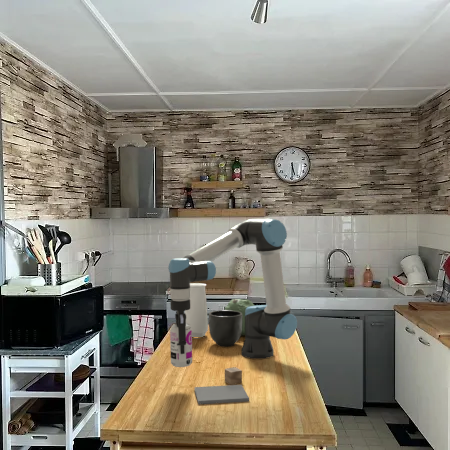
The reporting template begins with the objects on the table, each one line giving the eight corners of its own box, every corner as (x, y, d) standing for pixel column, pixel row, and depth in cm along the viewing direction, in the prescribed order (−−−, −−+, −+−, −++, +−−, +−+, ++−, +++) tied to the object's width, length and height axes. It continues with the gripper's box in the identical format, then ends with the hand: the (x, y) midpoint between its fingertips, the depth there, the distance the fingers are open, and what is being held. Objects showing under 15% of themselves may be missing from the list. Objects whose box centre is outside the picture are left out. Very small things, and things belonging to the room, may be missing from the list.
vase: (197, 332, 280) (197, 282, 280) (212, 336, 271) (212, 284, 270) (179, 335, 272) (179, 284, 271) (194, 340, 262) (194, 287, 262)
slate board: (241, 387, 191) (241, 384, 191) (249, 401, 177) (249, 398, 177) (194, 390, 188) (194, 387, 188) (198, 404, 174) (198, 400, 174)
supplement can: (195, 362, 194) (194, 323, 193) (187, 368, 186) (186, 328, 185) (176, 360, 196) (175, 322, 196) (167, 366, 189) (166, 327, 188)
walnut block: (235, 379, 201) (235, 367, 201) (241, 383, 196) (241, 370, 196) (224, 381, 198) (224, 368, 198) (230, 385, 194) (230, 372, 194)
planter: (247, 347, 248) (247, 315, 247) (213, 350, 243) (213, 317, 243) (236, 339, 264) (236, 309, 264) (204, 341, 259) (204, 311, 259)
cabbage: (259, 338, 266) (259, 301, 266) (224, 338, 267) (224, 300, 266) (258, 331, 282) (258, 296, 281) (224, 331, 282) (224, 296, 282)
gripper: (169, 294, 200) (170, 351, 201) (171, 304, 179) (173, 367, 180) (187, 294, 201) (188, 349, 202) (192, 303, 181) (194, 366, 181)
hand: (181, 358), depth 191 cm, fingers closed on supplement can, 8 cm apart
